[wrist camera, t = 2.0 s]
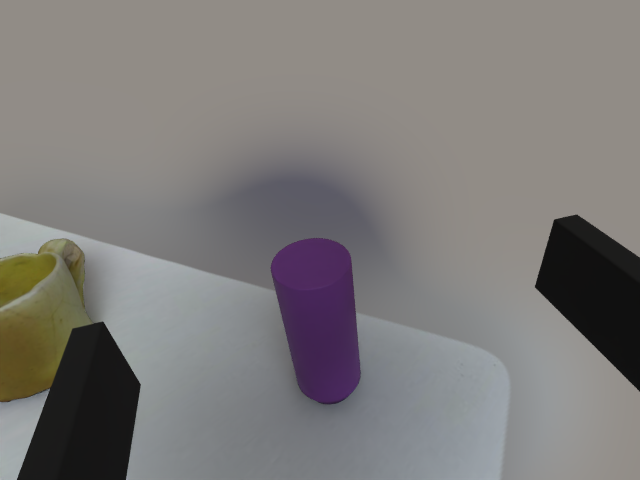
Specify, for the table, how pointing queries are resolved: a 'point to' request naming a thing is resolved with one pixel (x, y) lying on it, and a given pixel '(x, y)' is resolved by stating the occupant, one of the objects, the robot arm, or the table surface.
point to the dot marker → (319, 317)
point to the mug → (38, 315)
